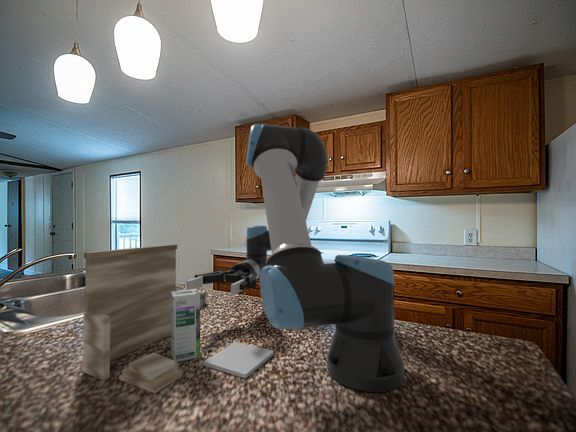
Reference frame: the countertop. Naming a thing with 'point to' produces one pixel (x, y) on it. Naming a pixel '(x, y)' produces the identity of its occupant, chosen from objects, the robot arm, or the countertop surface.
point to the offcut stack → (151, 372)
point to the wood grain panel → (126, 303)
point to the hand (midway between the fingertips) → (209, 288)
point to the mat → (239, 359)
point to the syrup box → (185, 324)
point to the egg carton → (202, 299)
